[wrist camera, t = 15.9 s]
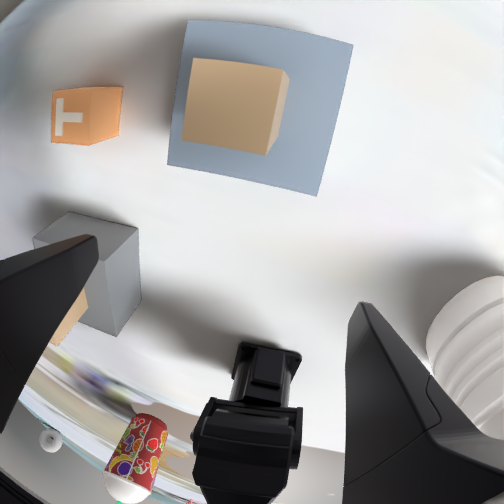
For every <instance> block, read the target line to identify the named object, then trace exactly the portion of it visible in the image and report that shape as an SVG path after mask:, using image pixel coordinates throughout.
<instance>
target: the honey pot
mask: <svg viewBox="0 0 504 504" xmlns="http://www.w3.org/2000/svg"><path fill="white" fill-rule="evenodd" d="M426 351H427V355H428V358H429V361H430V364H431V368H432V371H433V374H434V376H435V380H436V381H437V382H438V384H439V385H440V386H441V387H442V389H443V390H444V391H445V392H446V393H447V395H448V396H449V397H450V398H451V399H452V400H453V401H454V402H455V404H456V405H457V406H458V407H459V408H460V409H461V410H462V411H463V412H464V414H465V415H466V416H467V417H468V418H469V419H470V420H471V421H472V423H473V424H474V425H475V426H476V427H477V428H478V429H479V430H480V431H481V432H482V433H484V434H485V435H487V436H489V437H492V438H496V439H500V440H504V276H499V275H498V276H492V277H486V278H484V279H481V280H479V281H477V282H474V283H472V284H470V285H469V286H467V287H466V288H464V289H463V290H461V291H460V292H458V293H457V294H456V295H455V296H454V297H453V298H452V299H451V300H450V301H449V302H447V303H446V304H445V305H444V307H443V308H442V309H441V311H440V312H439V313H438V314H437V316H436V317H435V318H434V320H433V322H432V324H431V326H430V328H429V330H428V334H427V338H426Z"/></svg>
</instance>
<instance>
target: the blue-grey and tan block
mask: <svg viewBox="0 0 504 504" xmlns="http://www.w3.org/2000/svg"><path fill="white" fill-rule="evenodd" d="M352 50H353V45H352V44H349V43H345V42H342V41H338V40H335V39H331V38H327V37H323V36H318V35H314V34H310V33H305V32H300V31H295V30H290V29H284V28H278V27H272V26H265V25H257V24H249V23H239V22H228V21H211V20H188V23H187V28H186V33H185V38H184V43H183V49H182V54H181V60H180V66H179V72H178V78H177V84H176V91H175V98H174V106H173V113H172V122H171V130H170V140H169V150H168V160H167V165H170V166H176V167H182V168H188V169H193V170H199V171H204V172H209V173H214V174H219V175H224V176H229V177H234V178H239V179H244V180H248V181H253V182H257V183H262V184H266V185H271V186H275V187H279V188H284V189H288V190H292V191H296V192H300V193H304V194H308V195H312V196H316V197H317V193H318V190H319V186H320V182H321V179H322V175H323V171H324V168H325V164H326V160H327V156H328V152H329V148H330V145H331V141H332V137H333V133H334V129H335V125H336V121H337V116H338V112H339V108H340V104H341V100H342V95H343V91H344V87H345V82H346V78H347V73H348V69H349V64H350V59H351V55H352Z"/></svg>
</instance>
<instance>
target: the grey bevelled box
mask: <svg viewBox="0 0 504 504" xmlns="http://www.w3.org/2000/svg"><path fill="white" fill-rule="evenodd" d="M82 234H91V235H94V236H96V237H97V240H98V250H99V260H98V263H97V265H96V266H95V268H94V270H93V272H92V273H91V275H90V277H89V279H88V280H87V282H86V284H85V286H84V288H83V289H82V291H81V293H80V295H79V296H78V298H77V299H76V301H75V302H74V304H73V305H72V307H71V308H70V310H69V311H68V313H67V314H66V316H65V317H64V319H63V321H62V322H61V324H60V325H59V327H58V328H57V330H56V332H55V333H54V335H53V336H52V338H51V340H50V341H49V342H50V343H52V344H54V345H56V346H59V344H60V343H61V342H62V340H63V339H64V338H65V336H66V335H67V334H68V332H69V331H70V330H71V329H72V327H73V326H74V325H75V324H76V322H77V321H78V322H80V323H83V324H85V325H88V326H90V327H92V328H95V329H97V330H100V331H102V332H105V333H107V334H110V335H112V336H115V337H117V336H118V334H119V333H120V331H121V330H122V328H123V327H124V325H125V324H126V322H127V321H128V319H129V318H130V316H131V315H132V313H133V312H134V310H135V309H136V307H137V306H138V305H139V303H140V302H141V286H140V268H139V237H138V228H133V227H129V226H125V225H121V224H117V223H113V222H109V221H105V220H101V219H97V218H92V217H88V216H84V215H80V214H76V213H72V212H68V213H67V214H65V215H64V216H62V217H61V218H59V219H58V220H56V221H55V222H54V223H52V224H51V225H49V226H48V227H46V228H45V229H44V230H42V231H41V232H40V233H38V234H37V235H36V236H34V237H33V238H32V239H33V244H34V248H35V249H37V248H40V247H43V246H46V245H49V244H52V243H56V242H59V241H62V240H66V239H69V238H72V237H76V236H79V235H82Z"/></svg>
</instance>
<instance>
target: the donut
mask: <svg viewBox="0 0 504 504" xmlns="http://www.w3.org/2000/svg"><path fill="white" fill-rule="evenodd" d="M50 437H53V438H54V440H53V442H52V443H51V444H49V443H48V439H49V438H50ZM39 441H40V445H41V446H42V448H43V449H44V450H45V451H48V452H56V451H58V450H59V449H60V447H61V445H62V437H61V435H60V433H59V432H58V431H57V430H55V429H51V428H48V429H45V430H44V431H43V432H42V433H41V435H40V438H39Z"/></svg>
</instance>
